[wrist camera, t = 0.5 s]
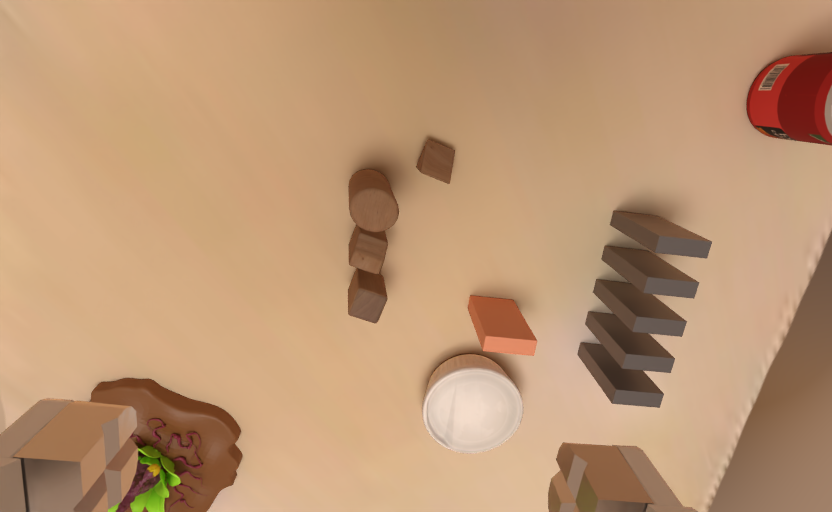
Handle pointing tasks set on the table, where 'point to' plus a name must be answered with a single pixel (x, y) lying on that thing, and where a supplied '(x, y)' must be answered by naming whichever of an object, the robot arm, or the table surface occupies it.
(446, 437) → the ramekin
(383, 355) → the table surface
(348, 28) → the table surface
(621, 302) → the tile
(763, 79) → the canned food
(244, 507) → the table surface
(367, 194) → the wooden block set
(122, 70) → the table surface
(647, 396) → the tile
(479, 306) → the tile
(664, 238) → the tile
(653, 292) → the tile
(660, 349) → the tile
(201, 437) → the plant
